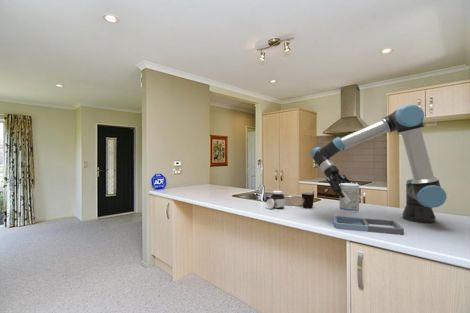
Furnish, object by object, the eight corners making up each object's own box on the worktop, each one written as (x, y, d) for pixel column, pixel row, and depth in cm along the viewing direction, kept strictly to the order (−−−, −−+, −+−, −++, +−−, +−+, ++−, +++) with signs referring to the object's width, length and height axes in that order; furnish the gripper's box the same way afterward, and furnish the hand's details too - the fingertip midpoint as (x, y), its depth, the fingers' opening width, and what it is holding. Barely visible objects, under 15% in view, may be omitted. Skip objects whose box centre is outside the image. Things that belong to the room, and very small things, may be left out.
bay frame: (395, 225, 127) (395, 220, 127) (404, 234, 112) (404, 229, 112) (333, 219, 138) (333, 215, 138) (334, 228, 123) (334, 223, 123)
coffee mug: (314, 209, 164) (315, 194, 164) (301, 208, 166) (301, 194, 165) (312, 205, 175) (312, 191, 175) (300, 205, 177) (300, 191, 177)
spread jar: (286, 207, 169) (286, 191, 169) (280, 211, 159) (280, 193, 159) (270, 205, 175) (270, 189, 175) (264, 208, 166) (264, 192, 165)
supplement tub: (343, 208, 134) (343, 182, 134) (361, 211, 128) (361, 183, 128) (336, 211, 127) (337, 184, 127) (355, 214, 121) (356, 185, 121)
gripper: (337, 172, 146) (362, 203, 133) (312, 174, 135) (336, 208, 122) (345, 164, 141) (372, 195, 128) (319, 165, 130) (345, 199, 117)
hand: (354, 201), depth 125 cm, fingers closed on supplement tub, 9 cm apart
